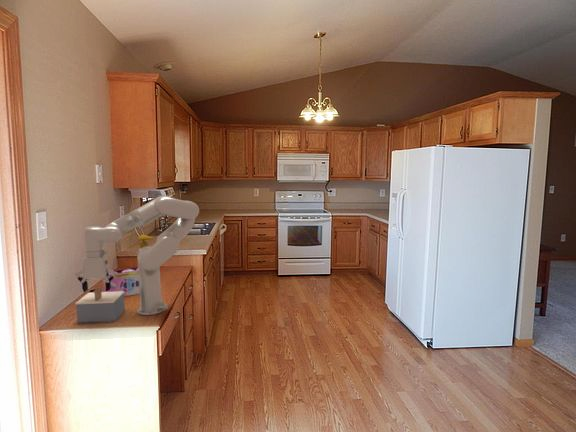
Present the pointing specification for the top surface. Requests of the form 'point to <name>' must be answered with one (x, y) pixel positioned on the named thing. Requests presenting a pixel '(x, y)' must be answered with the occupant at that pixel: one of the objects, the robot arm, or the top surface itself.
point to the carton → (100, 311)
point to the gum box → (125, 281)
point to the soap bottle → (144, 241)
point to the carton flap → (100, 297)
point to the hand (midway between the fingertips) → (96, 290)
